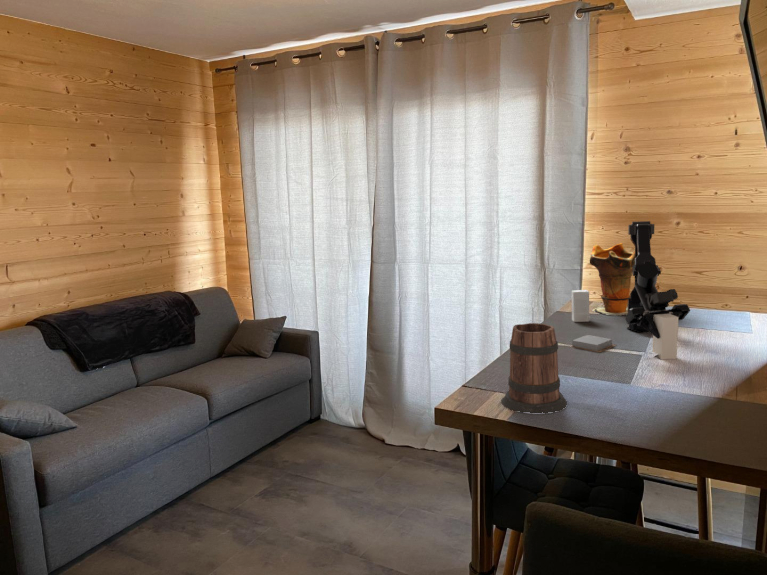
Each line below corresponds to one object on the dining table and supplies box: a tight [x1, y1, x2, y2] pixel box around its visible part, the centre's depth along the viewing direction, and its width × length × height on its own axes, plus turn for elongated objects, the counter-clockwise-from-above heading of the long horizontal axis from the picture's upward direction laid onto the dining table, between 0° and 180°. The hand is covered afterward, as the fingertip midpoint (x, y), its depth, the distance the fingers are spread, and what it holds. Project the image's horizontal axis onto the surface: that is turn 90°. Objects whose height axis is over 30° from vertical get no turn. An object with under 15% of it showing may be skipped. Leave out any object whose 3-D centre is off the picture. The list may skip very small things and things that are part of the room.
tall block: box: [652, 314, 679, 361], centre depth 187 cm, size 5×5×13 cm
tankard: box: [500, 322, 568, 413], centre depth 158 cm, size 24×17×20 cm
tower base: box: [569, 343, 617, 353], centre depth 200 cm, size 11×11×2 cm
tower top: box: [571, 334, 613, 352], centre depth 200 cm, size 9×9×2 cm
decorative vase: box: [589, 242, 635, 316], centre depth 250 cm, size 21×23×28 cm
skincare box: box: [571, 289, 590, 323], centre depth 238 cm, size 6×4×12 cm
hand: (667, 337), depth 186 cm, fingers closed on tall block, 5 cm apart
